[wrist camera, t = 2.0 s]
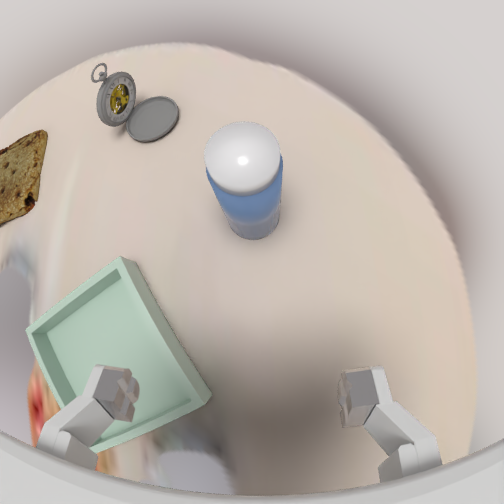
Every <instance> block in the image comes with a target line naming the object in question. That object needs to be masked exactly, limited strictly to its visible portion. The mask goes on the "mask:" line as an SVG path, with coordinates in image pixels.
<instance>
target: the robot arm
mask: <svg viewBox="0 0 504 504" xmlns="http://www.w3.org/2000/svg"><path fill="white" fill-rule="evenodd" d="M341 377H342V380H340V381H339V384H338V402H339V404H340V405H341V406H342V410H341V412H340V415H341V422H342V428H345V427H354V426H362V425H364V426H363V427H364V428H365V429H366V430H367V431H368V433H369V434H370V435H371V436H372V437H373V438H374V440H375V441H376V442H377V443H378V444H379V445H380V447H381V448H382V449H383V450H384V451H385V452H386V454H387V455H388V456H389V457H388V458H387V459H386V460H385V461H384V462H383V463H382V464H381V465H380V466H379V467H378V470H379V477H380V483H377V484H372V485H367V486H362V487H356V488H351V489H344V490H337V491H330V492H321V493H311V494H298V495H276V496H246V495H224V494H211V493H201V492H192V491H184V490H177V489H171V488H165V487H160V486H154V485H149V484H144V483H140V482H135V481H131V480H127V479H123V478H119V477H115V476H112V475H108V474H105V473H101V472H98V471H95V468H96V464H97V460H98V456H97V454H96V453H94V452H93V451H92V450H90V449H89V448H90V446H91V445H92V444H93V443H94V442H95V441H96V440H97V439H98V438H99V437H100V436H101V435H102V434H103V433H104V431H105V430H106V429H107V428H108V427H109V426H110V425H111V424H112V423H113V422H114V420H120V421H126V422H132V420H133V416H134V412H135V407H134V405H133V404H134V403H135V402H136V401H137V400H138V398H139V393H140V387H139V383H138V381H137V380H136V379H135V378H134V377H132V372H131V370H130V369H129V368H120V367H113V366H107V365H100V364H96V365H95V366H94V367H93V369H92V372H91V374H90V376H89V379H88V381H87V384H86V386H85V389H84V391H83V394H82V395H79V396H77V397H76V398H75V399H74V400H73V401H71V402H70V403H69V404H68V405H66V406H65V407H64V408H63V409H62V410H60V411H59V412H58V413H57V414H55V415H54V416H53V417H52V418H51V419H49V420H48V421H47V422H46V423H45V424H44V426H43V429H42V432H41V434H40V437H39V440H38V443H37V446H36V448H35V447H33V446H31V445H28V444H26V443H24V442H22V441H20V440H18V439H16V438H14V437H12V436H10V435H9V434H7V433H5V432H3V431H1V430H0V504H504V439H502V440H500V441H498V442H496V443H494V444H492V445H490V446H488V447H486V448H483V449H481V450H479V451H477V452H474V453H472V454H470V455H467V456H465V457H462V458H460V459H457V460H455V461H452V462H449V463H447V464H444V465H442V461H441V457H440V452H439V448H438V445H437V441H436V437H435V435H434V434H433V433H432V432H430V431H429V430H428V429H427V428H426V427H425V426H424V425H423V424H421V423H420V422H419V421H418V420H417V419H416V418H415V417H414V416H413V415H411V414H410V413H409V412H408V411H407V410H406V409H405V408H404V407H403V406H401V405H400V404H399V403H398V402H397V401H394V402H393V399H392V396H391V392H390V388H389V385H388V381H387V378H386V374H385V371H384V368H383V367H382V366H381V365H379V366H372V367H363V368H356V369H348V370H343V371H342V374H341Z"/></svg>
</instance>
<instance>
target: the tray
mask: <svg viewBox="0 0 504 504" xmlns="http://www.w3.org/2000/svg"><path fill="white" fill-rule="evenodd" d="M26 333H27V336H28V338H29V341H30V344H31V346H32V349H33V351H34V354H35V356H36V358H37V361H38V363H39V365H40V368H41V370H42V372H43V374H44V376H45V378H46V381H47V383H48V385H49V387H50V389H51V391H52V393H53V395H54V397H55V399H56V401H57V402H58V404H59V406H60V408H61V410H62V409H63V408H64V407H65V406H66V405H68V404H69V403H70V402H71V401H73V400H74V399H75V398H76V397H77V396H79V395H82V394H83V391H84V389H85V386H86V384H87V381H88V379H89V376H90V374H91V372H92V369H93V367H94V366H95V365H96V364H100V365H107V366H113V367H120V368H129V369H130V370H131V372H132V377H134V378H135V379H136V380H137V381H138V383H139V387H140V393H139V398H138V400H137V401H136V402H135V403H134V404H133V405H134V407H135V412H134V416H133V420H132V422H126V421H120V420H114V422H113V423H112V424H111V425H110V426H109V427H108V428H107V429H106V430H105V431H104V433H103V434H102V435H101V436H100V437H99V438H98V439H97V440H96V441H95V442H94V443H93V444H92V445H91V446H90V448H89V449H90V450H92V451H93V452H94V453H98V452H101V451H103V450H106V449H108V448H111V447H114V446H116V445H119V444H121V443H124V442H126V441H128V440H131V439H133V438H136V437H138V436H140V435H143V434H145V433H147V432H149V431H152V430H154V429H156V428H158V427H160V426H163V425H165V424H167V423H169V422H171V421H173V420H175V419H177V418H179V417H182V416H184V415H186V414H188V413H190V412H192V411H194V410H196V409H198V408H200V407H201V406H203V405H205V404H206V403H207V401H208V400H209V399H210V397H211V396H212V395H213V394H212V393H211V391H210V390H209V388H208V387H207V385H206V384H205V382H204V381H203V379H202V377H201V376H200V374H199V373H198V371H197V370H196V368H195V367H194V365H193V363H192V362H191V360H190V359H189V357H188V355H187V354H186V352H185V351H184V349H183V347H182V346H181V344H180V342H179V341H178V339H177V337H176V336H175V334H174V332H173V330H172V329H171V327H170V325H169V324H168V322H167V320H166V318H165V317H164V315H163V313H162V311H161V309H160V308H159V306H158V304H157V302H156V300H155V299H154V297H153V295H152V293H151V291H150V289H149V287H148V285H147V284H146V282H145V280H144V278H143V276H142V274H141V272H140V270H139V268H138V266H137V264H136V262H133V261H131V260H128V259H126V258H124V257H121V256H119V257H118V258H116V259H115V260H114V261H112V262H111V263H110V264H108V265H107V266H105V267H104V268H103V269H101V270H100V271H99V272H97V273H96V274H95V275H93V276H92V277H91V278H89V279H88V280H87V281H85V282H84V283H83V284H81V285H80V286H79V287H77V288H76V289H75V290H74V291H72V292H71V293H70V294H68V295H67V296H66V297H65V298H63V299H62V300H61V301H60V302H58V303H57V304H56V305H55V306H53V307H52V308H51V309H50V310H48V311H47V312H46V313H45V314H43V315H42V316H41V317H40V318H39V319H37V320H36V321H35V322H34V323H33V324H31V325H30V326H29V327H28V328H27V329H26Z"/></svg>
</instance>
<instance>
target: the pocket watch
mask: <svg viewBox="0 0 504 504" xmlns="http://www.w3.org/2000/svg"><path fill="white" fill-rule="evenodd" d="M100 65H104V67H105V72H100V73H99V76H100V77H99V80H94V78H93V74H94V71H95V69H96V68H97V67H98V66H100ZM106 77H107V66H106V64H105V63H100V64H98V65H97V66H96V67H95V68H94V70H93V71H92V75H91V80H92V82H95V83H97V82H99V81H103V83H102V85H101V87H100V89H99V92H98V96H97V112H98V116H99V118H100V120H101V121H102V122H103V123H104V124H106V125H108V126H113V127H115V126H119V125H121V124H123V123H124V122H126V129H127V132H128V133H129V135H130V136H131V137H132V138H133V139H135V140H137V141H141V142H147V141H152V140H155V139H158V138H160V137H162V136H163V135H165V134H166V133H168V132H169V131H170V130H171V129H172V127H173V126H174V125H175V123H176V121H177V118H178V107H177V105H176V103H175V102H174V101H173V100H172V99H171V98H168V97H164V96H158V97H152V98H149V99H146V100H144V101H143V102H141V103H140V104H138V105H137V106H136V107H135V108H134V103H135V98H136V87H135V83H134V80H133V78H132V77H131V75H129V74H128V73H126V72H117V73H114V74H112V75H110V76H109V77H108V78H106ZM119 85H120V88H121V90H118V91H117V89H120V88H118V87H119ZM122 90H123V92H122ZM122 93H123V95H122ZM117 101H118V102H117ZM116 102H117V103H116ZM116 104H117V106H118V108H119V105H120V106H121V107H120V108H119V110H118V108H116ZM114 109H115V110H116V113H114ZM112 111H113V112H112Z"/></svg>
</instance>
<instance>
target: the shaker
mask: <svg viewBox="0 0 504 504" xmlns="http://www.w3.org/2000/svg"><path fill="white" fill-rule="evenodd" d="M204 160H205V164H206V173H207V177H208V179H209V182H210V184H211V186H212V188H213V190H214V193H215V195H216V197H217V199H218V201H219V203H220V205H221V208H222V210H223V212H224V214H225V216H226V218H227V221H228V223H229V225H230V227H231V229H232V230H233V231H234V232H235V233H236V234H237V235H238V236H240V237H242V238H245V239H249V240H257V239H261V238H264V237H266V236H268V235H269V234H270V233H271V232H273V230H274V229H275V228H276V226H277V224H278V221H279V213H280V199H281V185H282V170H283V161H282V156H281V153H280V146H279V143H278V140H277V138H276V137H275V135H274V134H273V133H272V132H271V131H270V130H269V129H267V128H266V127H264V126H262V125H260V124H257V123H253V122H235V123H231V124H229V125H226V126H224V127H222V128H221V129H219V130H218V131H216V132H215V133H214V134H213V135H212V136H211V138H210V139H209V141H208V142H207V144H206V147H205V151H204Z"/></svg>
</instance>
